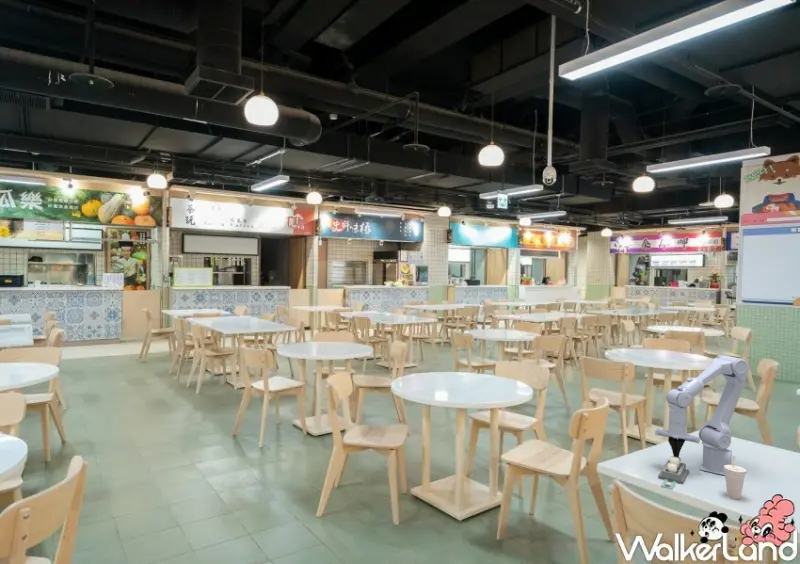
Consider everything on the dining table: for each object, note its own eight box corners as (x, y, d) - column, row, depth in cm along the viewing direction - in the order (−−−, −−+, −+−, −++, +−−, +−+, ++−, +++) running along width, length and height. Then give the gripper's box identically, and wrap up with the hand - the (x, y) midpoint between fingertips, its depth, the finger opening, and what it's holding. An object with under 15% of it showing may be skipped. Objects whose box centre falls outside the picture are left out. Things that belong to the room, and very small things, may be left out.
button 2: (681, 468, 189) (681, 457, 189) (679, 470, 187) (680, 459, 187) (672, 466, 191) (672, 455, 191) (670, 468, 188) (671, 457, 188)
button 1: (677, 475, 182) (677, 464, 182) (675, 477, 180) (676, 466, 180) (668, 473, 184) (668, 462, 184) (666, 475, 181) (666, 464, 181)
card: (676, 482, 179) (676, 481, 179) (672, 489, 173) (672, 488, 173) (665, 479, 181) (665, 478, 181) (660, 486, 175) (661, 485, 175)
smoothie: (718, 492, 171) (719, 452, 171) (735, 492, 172) (737, 451, 171) (732, 501, 165) (733, 459, 164) (750, 500, 165) (751, 458, 165)
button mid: (679, 468, 185) (679, 457, 185) (677, 470, 183) (678, 459, 183) (670, 466, 187) (670, 455, 187) (668, 468, 185) (669, 457, 185)
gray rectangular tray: (688, 472, 188) (689, 464, 188) (683, 484, 177) (683, 475, 177) (665, 466, 193) (665, 459, 193) (658, 478, 182) (658, 470, 182)
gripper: (654, 420, 190) (652, 456, 190) (698, 428, 181) (697, 465, 181) (657, 416, 195) (656, 451, 195) (700, 424, 186) (699, 460, 187)
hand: (676, 457), depth 189 cm, fingers closed, pressing on button 2
